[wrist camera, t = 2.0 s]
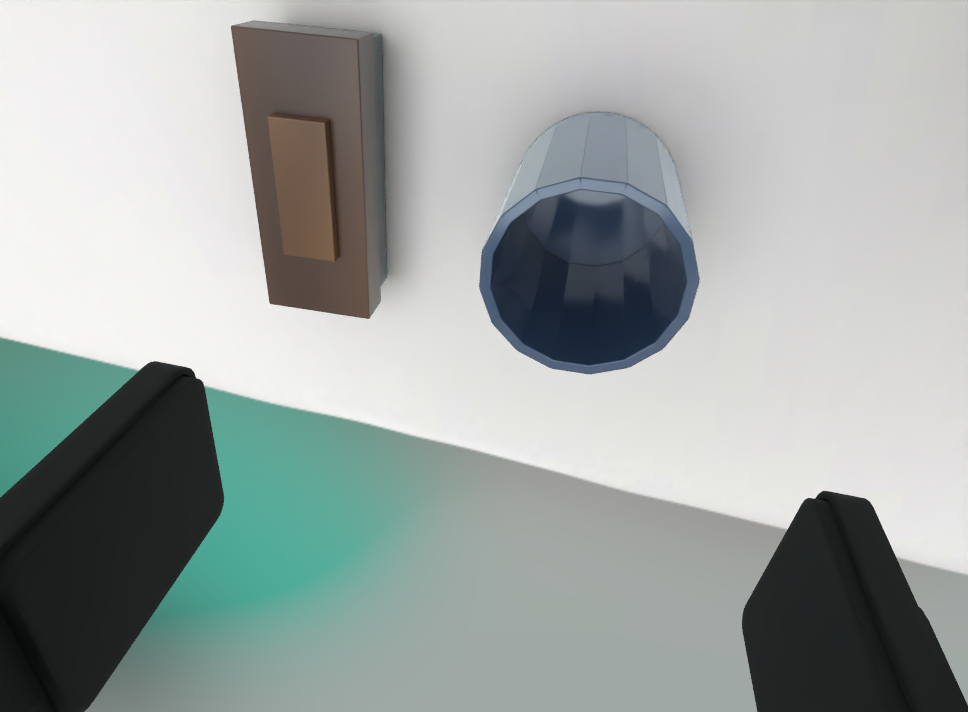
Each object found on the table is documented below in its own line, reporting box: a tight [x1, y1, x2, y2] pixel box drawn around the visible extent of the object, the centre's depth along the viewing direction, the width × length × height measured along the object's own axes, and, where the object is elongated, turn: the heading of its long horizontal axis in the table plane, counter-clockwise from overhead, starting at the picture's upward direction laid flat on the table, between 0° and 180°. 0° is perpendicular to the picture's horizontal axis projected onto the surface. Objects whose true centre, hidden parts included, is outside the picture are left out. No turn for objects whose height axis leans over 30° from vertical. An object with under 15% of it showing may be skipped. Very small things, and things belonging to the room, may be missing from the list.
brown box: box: [231, 21, 387, 319], centre depth 28 cm, size 5×12×4 cm, turn 176°
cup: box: [479, 112, 699, 374], centre depth 25 cm, size 7×7×9 cm
